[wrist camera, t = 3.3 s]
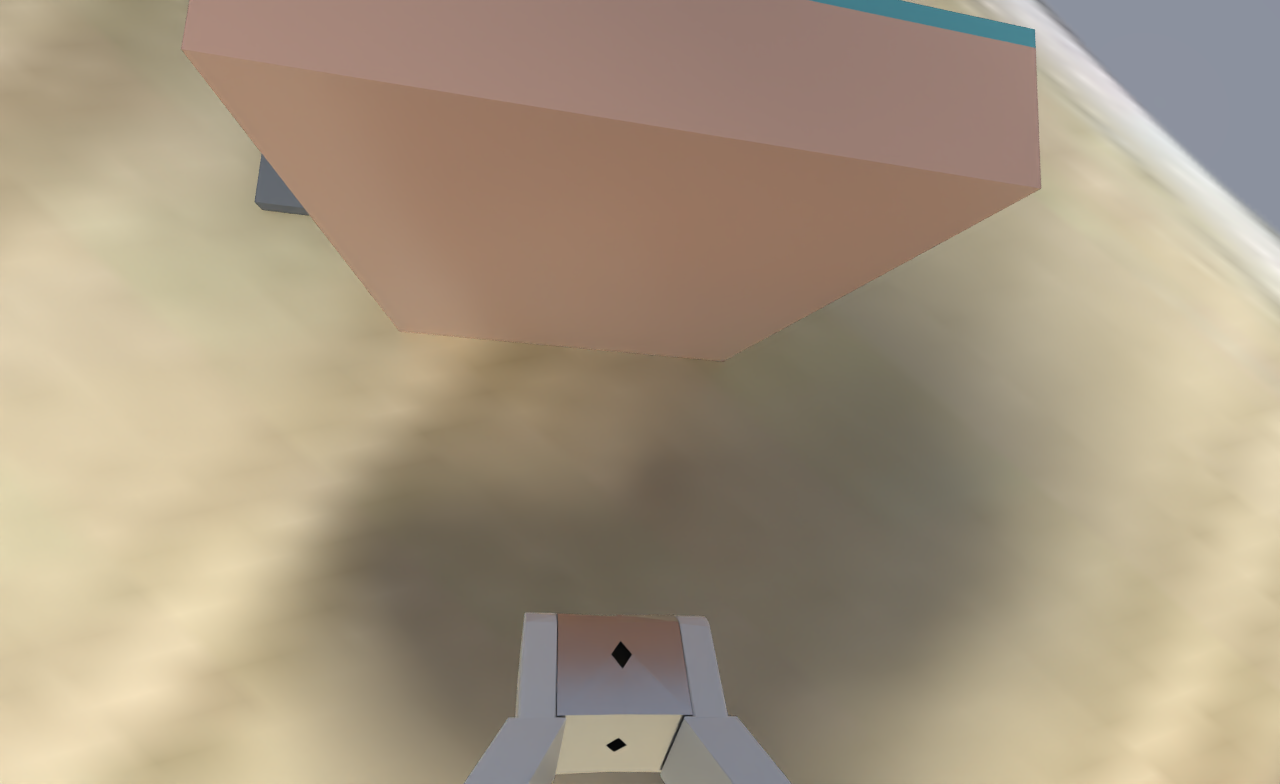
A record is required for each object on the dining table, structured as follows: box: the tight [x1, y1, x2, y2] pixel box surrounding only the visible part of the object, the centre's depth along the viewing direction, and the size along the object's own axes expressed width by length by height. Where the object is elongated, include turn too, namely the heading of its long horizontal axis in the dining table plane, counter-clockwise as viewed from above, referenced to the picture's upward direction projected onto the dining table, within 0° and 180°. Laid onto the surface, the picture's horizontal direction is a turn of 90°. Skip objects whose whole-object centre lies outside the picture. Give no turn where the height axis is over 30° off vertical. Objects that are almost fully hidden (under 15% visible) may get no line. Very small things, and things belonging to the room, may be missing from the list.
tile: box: [181, 0, 1041, 361], centre depth 15 cm, size 2×11×14 cm, turn 87°
